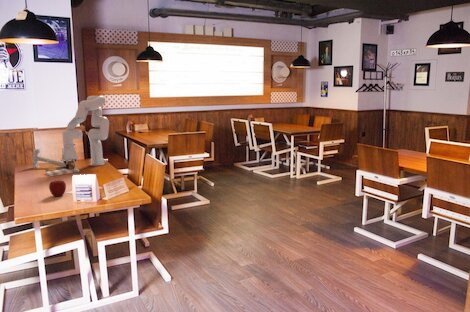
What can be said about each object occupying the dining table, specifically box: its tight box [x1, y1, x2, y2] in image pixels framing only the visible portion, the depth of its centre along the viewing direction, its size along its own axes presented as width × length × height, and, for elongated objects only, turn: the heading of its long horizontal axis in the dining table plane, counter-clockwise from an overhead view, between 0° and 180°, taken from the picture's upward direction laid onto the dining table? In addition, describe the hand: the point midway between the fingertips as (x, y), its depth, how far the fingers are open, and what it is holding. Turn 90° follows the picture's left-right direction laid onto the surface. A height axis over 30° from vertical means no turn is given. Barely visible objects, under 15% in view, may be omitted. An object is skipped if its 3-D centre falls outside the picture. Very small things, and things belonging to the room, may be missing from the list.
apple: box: [48, 180, 67, 197], centre depth 242 cm, size 10×10×10 cm
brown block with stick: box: [68, 160, 76, 169], centre depth 313 cm, size 4×10×6 cm, turn 46°
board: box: [44, 167, 80, 177], centre depth 310 cm, size 22×12×2 cm, turn 136°
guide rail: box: [44, 166, 67, 172], centre depth 313 cm, size 22×1×2 cm, turn 136°
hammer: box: [31, 148, 66, 169], centre depth 331 cm, size 16×5×30 cm
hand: (70, 167), depth 315 cm, fingers closed on brown block with stick, 4 cm apart
